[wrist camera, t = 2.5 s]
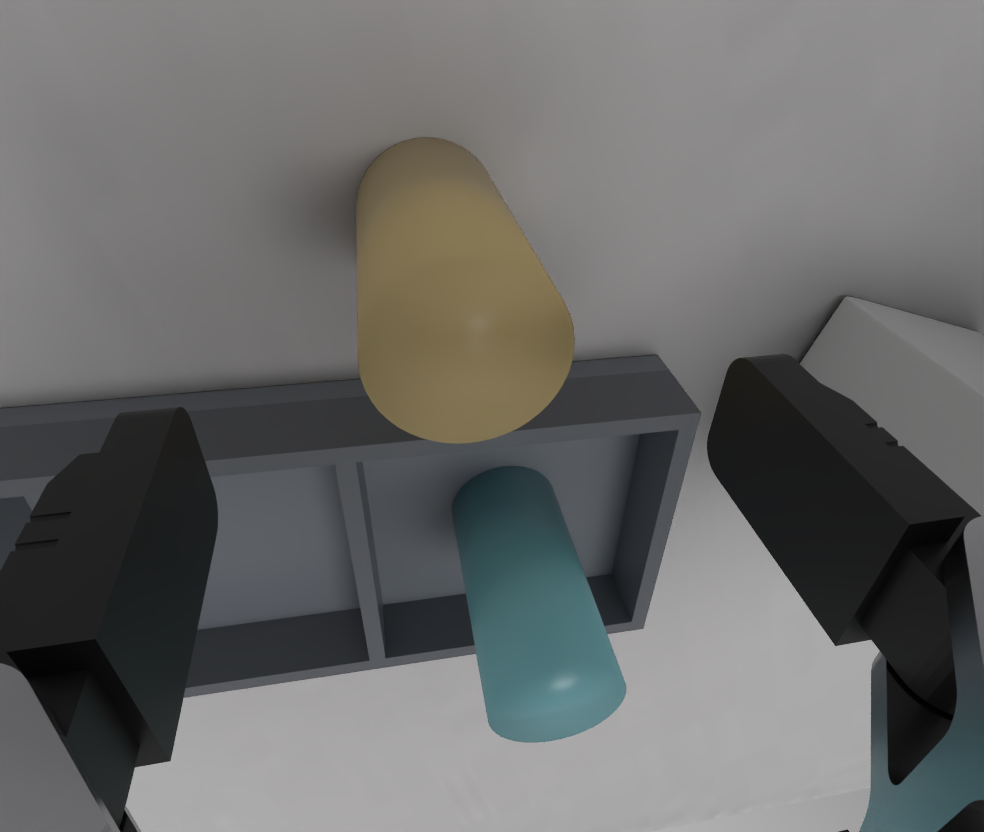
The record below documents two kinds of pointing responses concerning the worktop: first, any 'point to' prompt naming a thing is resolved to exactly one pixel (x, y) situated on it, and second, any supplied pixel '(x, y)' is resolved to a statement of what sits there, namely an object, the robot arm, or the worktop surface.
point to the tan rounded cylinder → (452, 299)
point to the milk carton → (911, 385)
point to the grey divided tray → (380, 512)
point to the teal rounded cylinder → (531, 610)
